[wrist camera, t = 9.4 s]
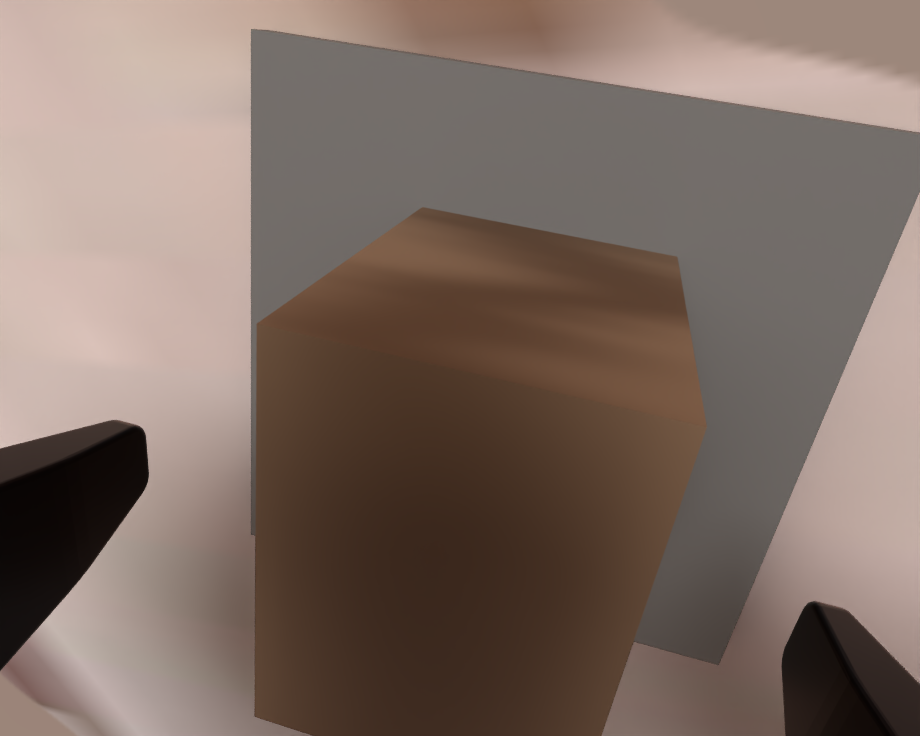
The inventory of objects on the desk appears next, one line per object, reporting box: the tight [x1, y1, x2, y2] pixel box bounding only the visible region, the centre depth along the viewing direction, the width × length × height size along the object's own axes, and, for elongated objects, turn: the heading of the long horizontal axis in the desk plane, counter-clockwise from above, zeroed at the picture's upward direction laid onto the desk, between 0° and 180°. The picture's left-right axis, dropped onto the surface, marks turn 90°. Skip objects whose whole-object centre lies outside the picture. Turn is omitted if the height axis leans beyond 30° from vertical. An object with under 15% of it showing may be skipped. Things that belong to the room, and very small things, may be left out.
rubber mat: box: [251, 29, 920, 665], centre depth 14 cm, size 11×11×1 cm
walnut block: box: [255, 207, 707, 736], centre depth 11 cm, size 4×6×6 cm
